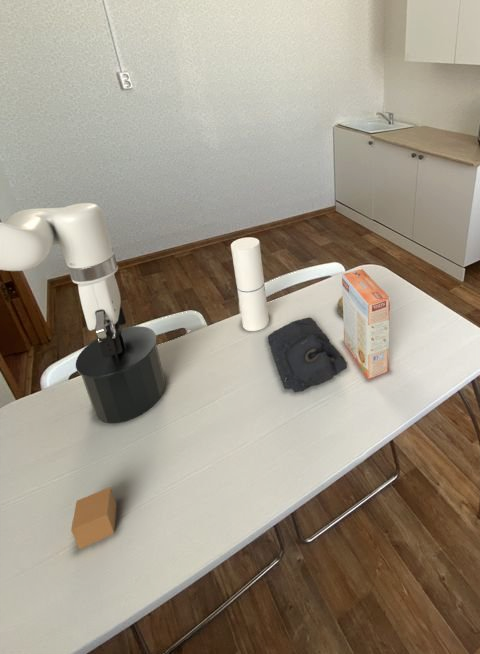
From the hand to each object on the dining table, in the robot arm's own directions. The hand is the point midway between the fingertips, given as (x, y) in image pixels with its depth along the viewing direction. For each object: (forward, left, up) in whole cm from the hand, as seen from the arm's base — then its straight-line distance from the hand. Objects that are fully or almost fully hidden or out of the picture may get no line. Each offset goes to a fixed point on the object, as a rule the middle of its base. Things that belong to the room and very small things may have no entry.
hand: (115, 338), depth 79 cm
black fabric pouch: (+38, +8, -16) cm, 42 cm away
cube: (+6, -26, -16) cm, 31 cm away
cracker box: (+53, +5, -16) cm, 55 cm away
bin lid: (0, 0, -3) cm, 3 cm away
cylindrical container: (+24, +22, -16) cm, 36 cm away
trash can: (0, 0, -16) cm, 16 cm away
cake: (+52, +24, -16) cm, 59 cm away
